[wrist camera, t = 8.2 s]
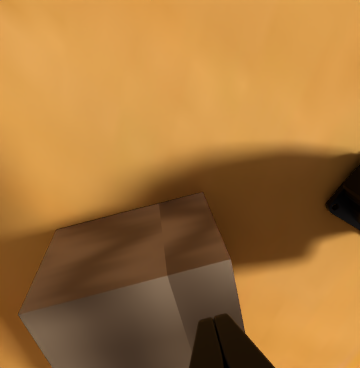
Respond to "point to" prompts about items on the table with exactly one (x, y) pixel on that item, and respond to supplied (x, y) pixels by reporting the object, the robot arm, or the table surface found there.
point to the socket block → (131, 288)
